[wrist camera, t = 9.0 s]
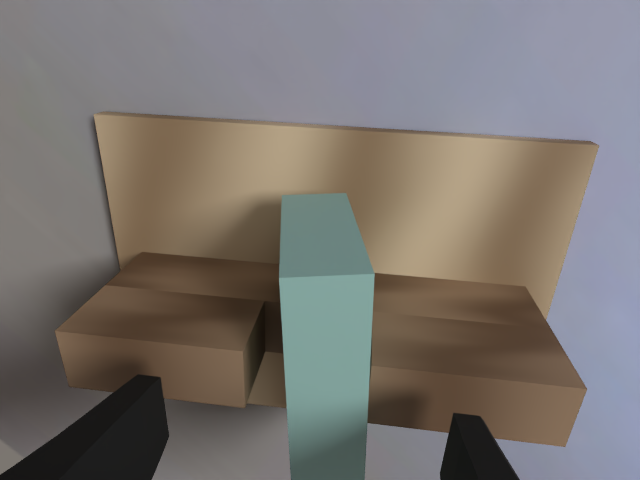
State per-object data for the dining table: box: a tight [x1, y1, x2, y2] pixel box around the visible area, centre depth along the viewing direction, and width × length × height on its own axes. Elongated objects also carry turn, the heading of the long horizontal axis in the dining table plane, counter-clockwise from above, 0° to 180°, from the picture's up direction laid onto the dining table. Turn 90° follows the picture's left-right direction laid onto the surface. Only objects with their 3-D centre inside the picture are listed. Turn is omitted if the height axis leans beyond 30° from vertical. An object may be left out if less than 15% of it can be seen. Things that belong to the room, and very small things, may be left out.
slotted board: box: [55, 112, 599, 447], centre depth 14 cm, size 16×12×6 cm
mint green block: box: [279, 193, 375, 480], centre depth 13 cm, size 2×9×5 cm, turn 1°
